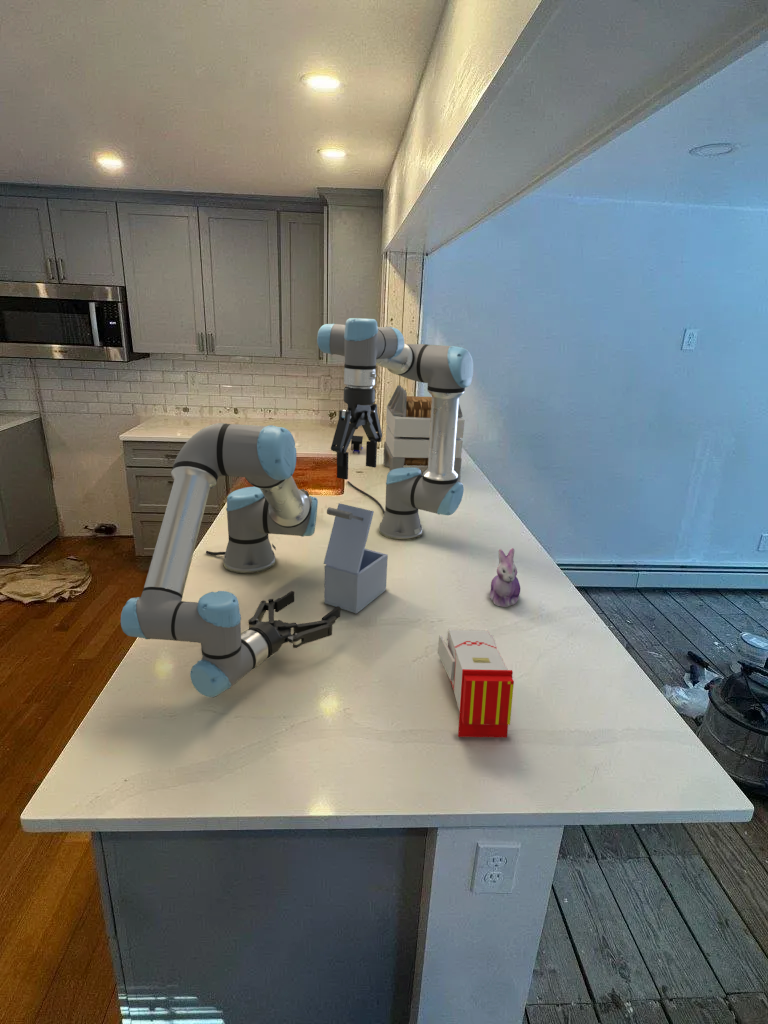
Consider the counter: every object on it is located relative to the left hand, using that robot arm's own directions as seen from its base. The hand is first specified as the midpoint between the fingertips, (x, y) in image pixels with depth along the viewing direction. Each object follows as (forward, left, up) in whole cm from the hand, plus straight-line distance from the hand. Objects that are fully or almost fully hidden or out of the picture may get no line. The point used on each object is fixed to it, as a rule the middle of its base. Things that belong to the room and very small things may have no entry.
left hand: (315, 603), depth 138 cm
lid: (0, +15, +12) cm, 19 cm away
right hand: (0, +18, +29) cm, 34 cm away
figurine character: (-87, +159, -7) cm, 182 cm away
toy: (+42, -3, -7) cm, 42 cm away
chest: (0, +19, -7) cm, 20 cm away
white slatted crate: (-40, +142, -7) cm, 147 cm away
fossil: (-53, +58, -7) cm, 79 cm away
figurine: (+35, +40, -7) cm, 54 cm away
